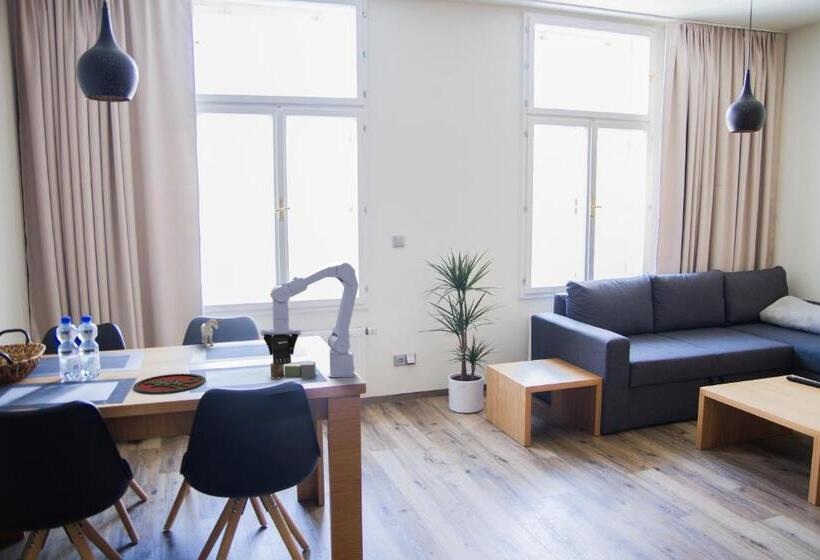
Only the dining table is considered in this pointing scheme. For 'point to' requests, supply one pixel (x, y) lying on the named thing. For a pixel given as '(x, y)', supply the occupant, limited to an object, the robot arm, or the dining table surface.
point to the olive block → (292, 369)
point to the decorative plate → (169, 383)
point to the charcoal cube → (308, 369)
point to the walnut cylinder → (277, 370)
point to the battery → (281, 349)
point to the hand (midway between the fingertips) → (281, 354)
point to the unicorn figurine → (208, 330)
